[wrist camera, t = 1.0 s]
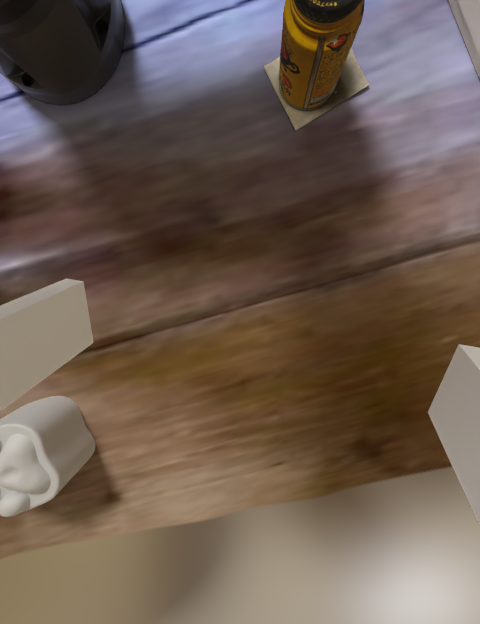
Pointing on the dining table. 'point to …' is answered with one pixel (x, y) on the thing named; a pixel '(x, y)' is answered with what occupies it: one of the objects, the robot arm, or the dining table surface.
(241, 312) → the dining table surface
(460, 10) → the tray
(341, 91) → the condiment
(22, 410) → the lumpy-topped squat cylinder
